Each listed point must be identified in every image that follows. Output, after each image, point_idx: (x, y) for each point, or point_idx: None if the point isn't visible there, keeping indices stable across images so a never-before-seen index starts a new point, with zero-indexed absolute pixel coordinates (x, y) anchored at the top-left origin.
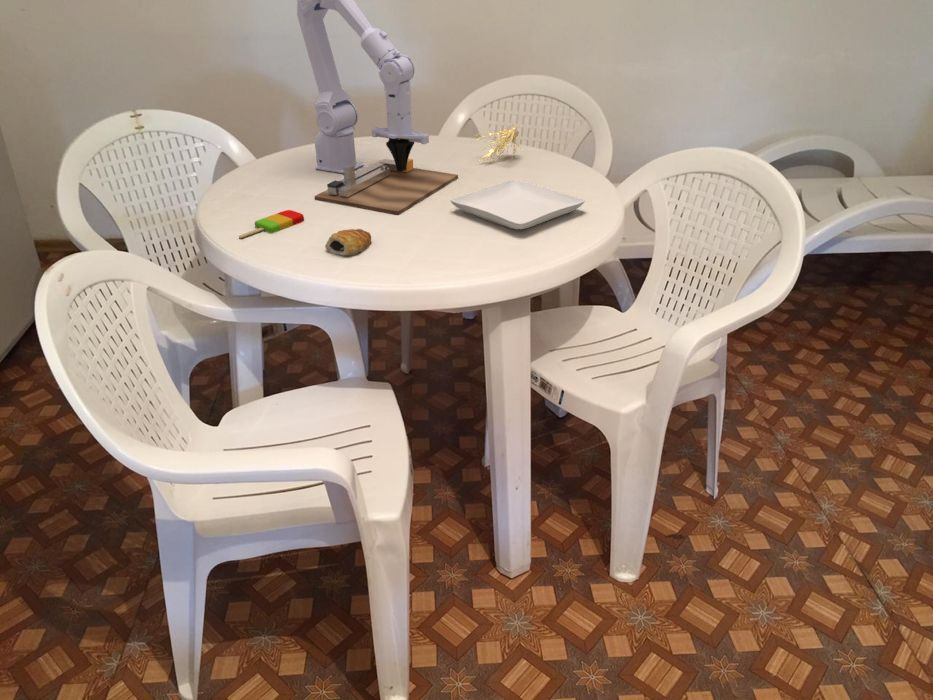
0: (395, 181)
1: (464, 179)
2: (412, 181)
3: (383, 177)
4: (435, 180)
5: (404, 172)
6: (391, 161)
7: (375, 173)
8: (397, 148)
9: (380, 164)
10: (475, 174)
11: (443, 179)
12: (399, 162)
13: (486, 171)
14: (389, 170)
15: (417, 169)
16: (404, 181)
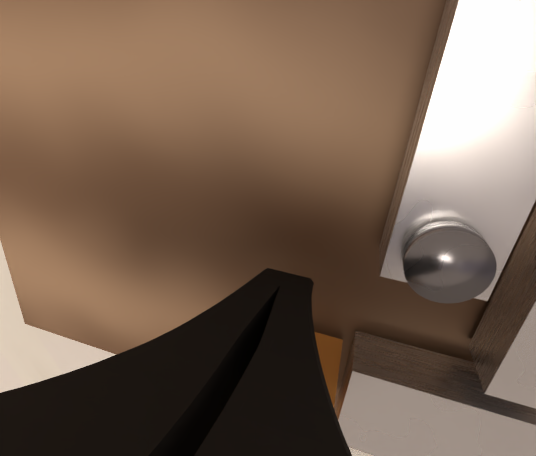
0: (271, 104)
1: (11, 300)
2: (151, 152)
3: (412, 132)
4: (48, 215)
5: None
6: (431, 445)
7: (514, 17)
8: (113, 445)
9: (531, 371)
10: (21, 363)
11: (28, 242)
12: (246, 305)
13: None
14: (381, 257)
15: None
16: (202, 131)
